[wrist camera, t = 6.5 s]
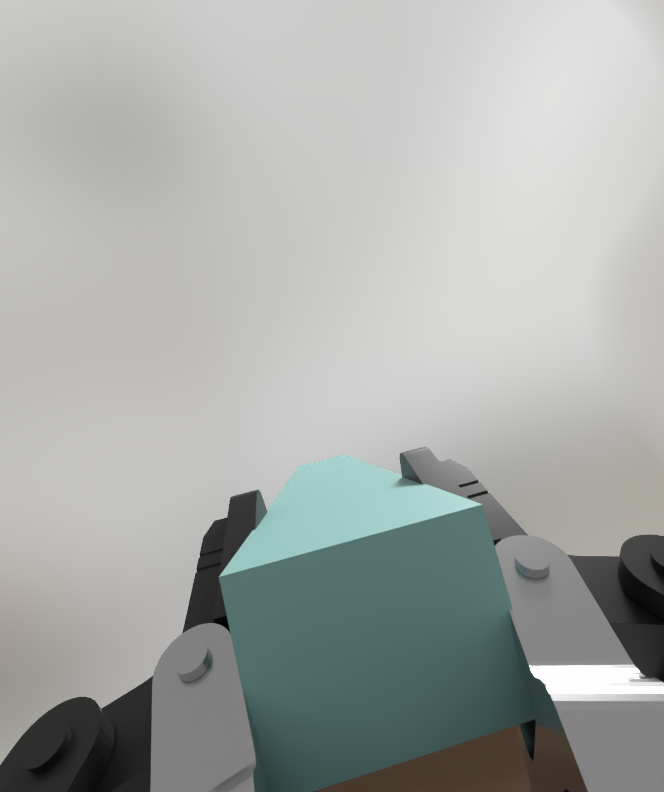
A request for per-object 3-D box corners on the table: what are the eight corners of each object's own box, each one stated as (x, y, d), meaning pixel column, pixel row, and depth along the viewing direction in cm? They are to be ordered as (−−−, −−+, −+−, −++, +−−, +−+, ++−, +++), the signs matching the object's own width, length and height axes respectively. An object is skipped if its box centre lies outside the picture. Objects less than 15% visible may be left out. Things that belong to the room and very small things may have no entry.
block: (544, 716, 5) (482, 504, 6) (265, 806, 5) (219, 576, 5) (353, 489, 31) (344, 454, 31) (307, 501, 31) (298, 466, 31)
